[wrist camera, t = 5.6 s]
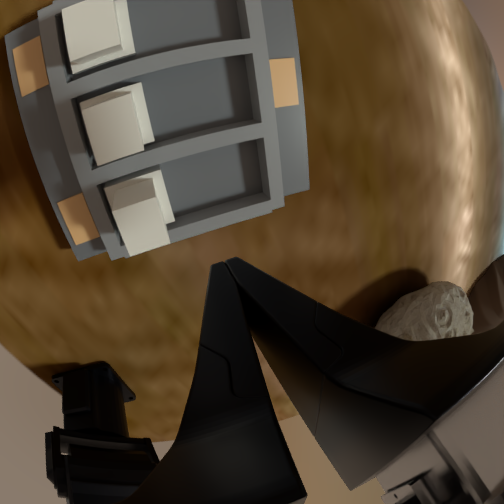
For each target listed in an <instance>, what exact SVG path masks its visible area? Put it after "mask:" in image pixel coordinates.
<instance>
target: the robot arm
mask: <svg viewBox="0 0 504 504" xmlns="http://www.w3.org/2000/svg"><path fill="white" fill-rule="evenodd" d="M252 337H253V339H254V340H255V342H256V344H257V345H258V347H259V349H260V350H261V352H262V354H263V355H264V357H265V359H266V360H267V362H268V364H269V365H270V367H271V369H272V370H273V372H274V374H275V375H276V377H277V379H278V380H279V382H280V384H281V385H282V387H283V388H284V390H285V392H286V393H287V395H288V396H289V398H290V400H291V401H292V403H293V405H294V406H295V408H296V409H297V411H298V412H299V414H300V416H301V417H302V419H303V420H304V422H305V424H306V425H307V427H308V428H309V430H310V431H311V433H312V434H313V436H314V437H315V439H316V441H317V442H318V444H319V445H320V447H321V448H322V450H323V451H324V453H325V454H326V456H327V457H328V459H329V460H330V462H331V463H332V465H333V466H334V468H335V469H336V471H337V472H338V474H339V475H340V477H341V478H342V479H343V481H344V483H345V484H346V486H347V487H348V488H349V490H350V491H351V490H353V489H355V488H357V487H358V486H361V485H362V484H364V483H366V482H368V481H370V480H371V479H373V478H375V477H376V478H377V480H378V481H379V483H380V484H381V486H382V488H383V489H384V491H385V493H386V494H384V495H382V496H381V498H382V500H383V502H384V503H385V504H504V320H503V321H502V322H501V323H500V324H499V325H497V326H496V327H495V328H493V329H491V330H488V331H485V332H482V333H477V334H471V335H464V336H457V337H450V338H442V339H433V340H424V341H411V340H405V339H401V338H398V337H395V336H393V335H390V334H388V333H385V332H383V331H380V330H378V329H375V328H373V327H370V326H368V325H365V324H363V323H360V322H358V321H356V320H353V319H351V318H349V317H346V316H344V315H342V314H340V313H338V312H336V311H334V310H332V309H330V308H328V307H327V306H325V305H323V304H321V303H319V302H318V303H317V301H315V300H314V299H312V298H310V297H308V296H306V295H305V294H303V293H301V292H299V291H297V290H296V289H294V288H292V287H290V286H288V285H287V284H285V283H283V282H281V281H279V280H278V279H276V278H274V277H272V276H270V275H269V274H267V273H265V272H263V271H262V270H260V269H258V268H256V267H254V266H253V265H251V264H249V263H247V262H245V261H244V260H242V259H240V258H238V257H234V258H231V259H228V260H225V263H224V262H219V263H216V264H213V265H211V267H210V273H209V279H208V286H207V292H206V299H205V306H204V313H203V320H202V327H201V334H200V341H199V347H198V355H197V361H196V367H195V373H194V377H193V381H192V385H191V389H190V392H189V396H188V399H187V403H186V406H185V410H184V414H183V417H182V421H181V424H180V428H179V431H178V434H177V436H176V439H175V441H174V443H173V445H172V447H171V448H170V449H169V451H168V452H167V453H166V455H165V456H164V457H163V459H162V460H161V461H159V459H158V456H157V454H156V452H155V450H154V447H153V445H152V442H151V439H150V438H129V433H128V427H127V420H126V413H125V406H124V403H125V402H129V401H133V400H135V399H136V396H135V394H134V392H133V391H132V390H131V389H130V388H129V387H128V386H127V385H126V384H125V382H124V381H123V380H122V379H121V378H120V377H119V375H118V374H117V373H116V372H115V371H114V369H113V368H112V367H111V366H110V365H109V364H108V363H100V364H96V365H92V366H89V367H85V368H81V369H77V370H73V371H69V372H65V373H61V374H57V375H53V376H52V382H53V383H54V384H55V385H56V386H57V387H58V388H59V389H60V390H61V391H62V412H63V414H64V429H61V428H59V427H56V426H53V432H52V431H51V432H48V433H45V446H46V447H45V448H46V471H47V478H48V479H49V480H50V481H51V482H52V483H53V484H54V488H55V489H57V494H58V497H61V498H66V501H67V504H304V502H305V500H306V498H307V492H306V490H305V487H304V485H303V483H302V480H301V478H300V476H299V473H298V471H297V468H296V466H295V463H294V461H293V458H292V456H291V453H290V451H289V448H288V446H287V443H286V441H285V438H284V436H283V433H282V431H281V428H280V425H279V423H278V420H277V417H276V415H275V412H274V409H273V405H272V402H271V399H270V396H269V392H268V389H267V386H266V383H265V379H264V376H263V373H262V369H261V366H260V363H259V359H258V356H257V352H256V349H255V346H254V342H253V339H252ZM61 453H67V454H68V455H62V454H61Z"/></svg>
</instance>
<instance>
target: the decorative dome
mask: <svg viewBox="0 0 504 504" xmlns="http://www.w3.org/2000/svg"><path fill="white" fill-rule="evenodd" d="M468 301H469V303H470V305H471V308H472V311H473V313H474V314H473V326H472V328H473V330H474V332H473V333H472V334H477V333H482V332H485V331H488V330H491V329H493V328H495V327H496V326H497V325H499V324H500V323H501V322H502V321H503V320H504V255H503V256H502V257H501V258H500V259H499V260H498V261H494V262H493V263H492V264H491V266H490V267H489V269H488V270H487V272H486V273H485V275H484V276H483V277H482V278H481V279H480V280H479V281H478V282H477V283H476V284H475V286H474V287H473V290H472V292H471V294H470V296H469V298H468Z"/></svg>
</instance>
